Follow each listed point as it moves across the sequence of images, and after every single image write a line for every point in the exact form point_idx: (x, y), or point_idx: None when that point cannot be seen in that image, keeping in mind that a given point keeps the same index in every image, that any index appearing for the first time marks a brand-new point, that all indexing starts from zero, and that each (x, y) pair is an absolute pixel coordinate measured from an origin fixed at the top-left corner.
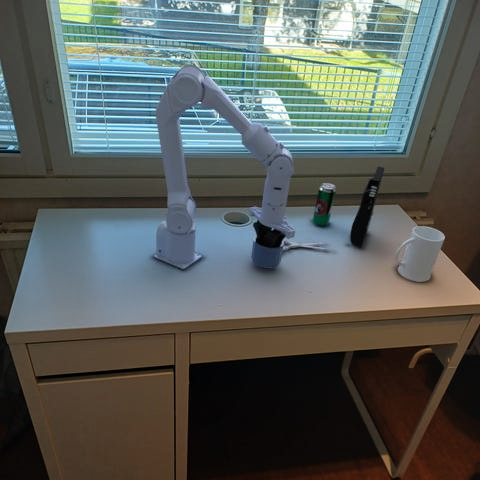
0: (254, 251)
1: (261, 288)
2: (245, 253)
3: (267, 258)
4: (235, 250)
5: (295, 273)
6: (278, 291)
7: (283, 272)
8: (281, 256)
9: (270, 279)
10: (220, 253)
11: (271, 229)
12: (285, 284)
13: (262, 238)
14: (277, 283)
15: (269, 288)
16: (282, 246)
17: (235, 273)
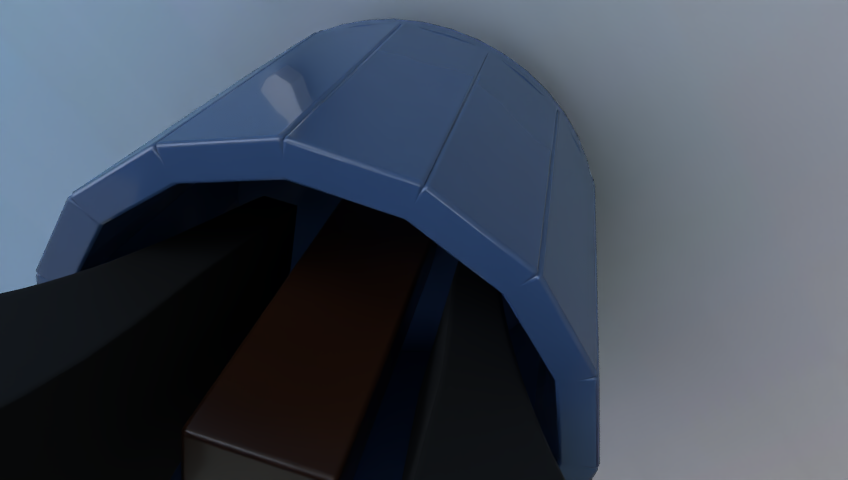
0: None
1: (610, 465)
2: (110, 82)
3: None
4: (19, 105)
5: (822, 46)
6: (767, 439)
7: (661, 135)
8: (595, 232)
9: (605, 329)
10: (20, 240)
11: (76, 376)
12: (787, 322)
13: (183, 414)
14: (700, 348)
15: (670, 439)
16: (598, 398)
17: None
